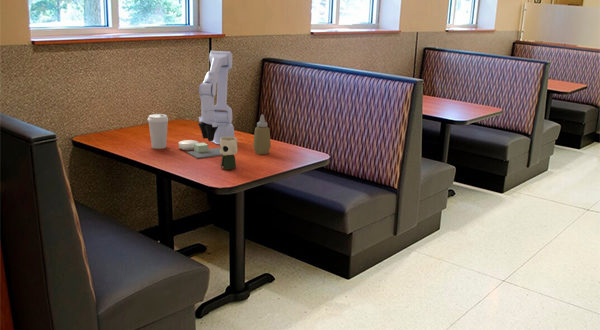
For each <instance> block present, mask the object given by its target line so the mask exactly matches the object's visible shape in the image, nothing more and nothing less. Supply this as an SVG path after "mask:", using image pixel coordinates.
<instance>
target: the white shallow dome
mask: <svg viewBox="0 0 600 330" xmlns="http://www.w3.org/2000/svg"><path fill="white" fill-rule="evenodd" d="M196 143H199V141H198V140H192V139H187V140H186V139H184V140H180V141H178V148H179V149H181V150H183V151H195V150H194V144H196Z"/></svg>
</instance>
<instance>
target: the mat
mask: <svg viewBox="0 0 600 330" xmlns="http://www.w3.org/2000/svg"><path fill="white" fill-rule="evenodd" d="M186 154H188V155H190V156H192V157H193V158H195V159H197V160H199V159H207V158H212V157H222V156H223V154H221V153H220V147H215V148H208V151H207V152H199V153H198V152H196V151H195V150H188V151H186Z"/></svg>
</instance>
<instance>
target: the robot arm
mask: <svg viewBox="0 0 600 330" xmlns="http://www.w3.org/2000/svg"><path fill="white" fill-rule="evenodd" d="M208 56H209V57H208V58H209V63H210V68H209V70H208V71H207V72H206V74H205V76H204V79H203V82H202V83H200V84H199V87H198V94H199V99H200V104H201V105H200V106H201V107H200V110H201V112H200V114H201V115H200V116H199V117H198V124H197V125H198V127H199V129H200V132H201V135H202V136H201V137H202V139H203V140H205V139H207V141H208V142H212V143H214V144H216V145H219V146H220V138H221V137H235V127H234V125H233V124H232V122H233V110H232V107H230V106H229V105H228V103H227V101H228V100H227V98H228V81H229V80H228V79H229V78H228V77H229V76H228V75H229V70H232V68H233V54H232V52H231V51H223V50H222V51H220V50H210V53H209V55H208ZM216 94H217V95H216ZM215 96H216V104H215Z"/></svg>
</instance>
